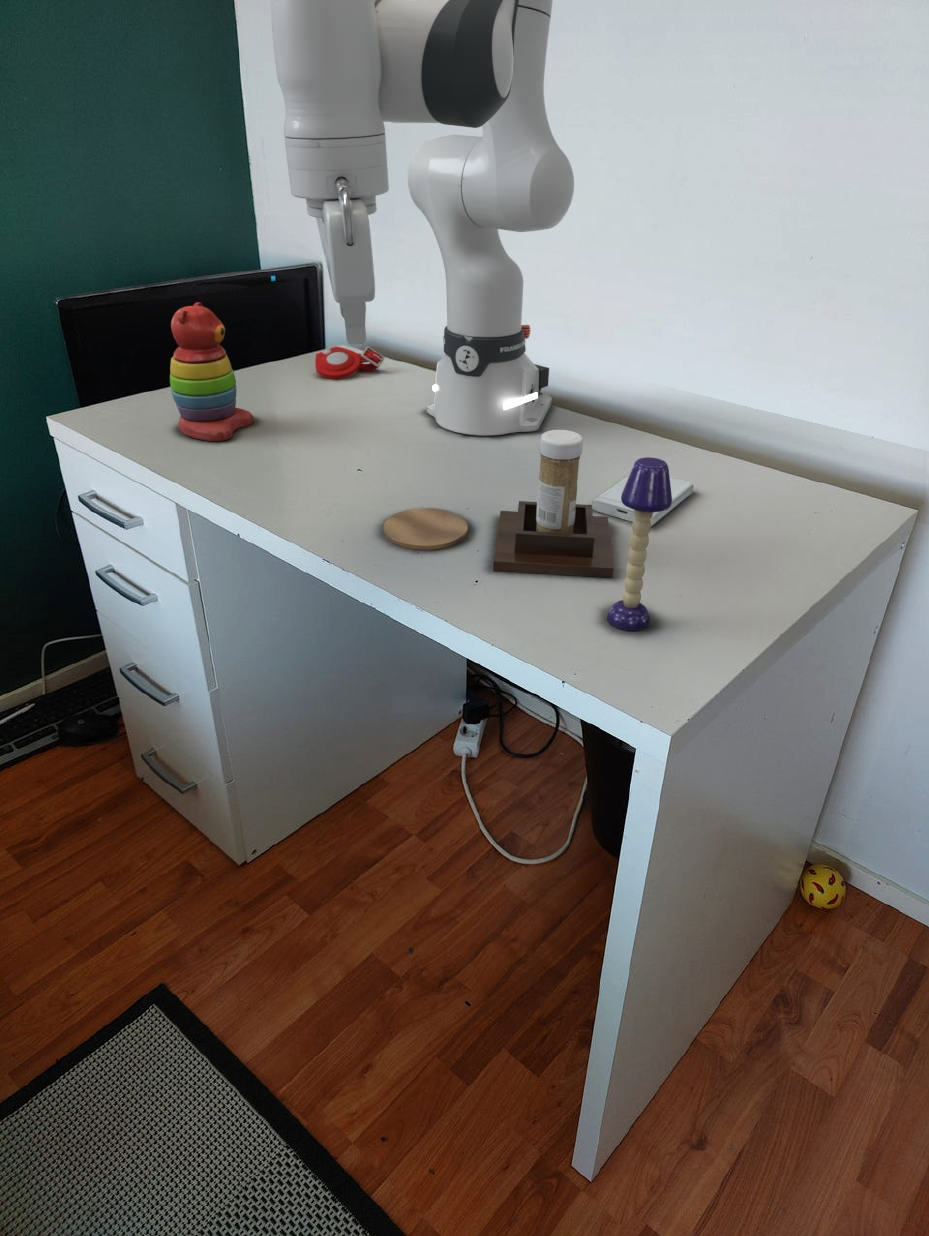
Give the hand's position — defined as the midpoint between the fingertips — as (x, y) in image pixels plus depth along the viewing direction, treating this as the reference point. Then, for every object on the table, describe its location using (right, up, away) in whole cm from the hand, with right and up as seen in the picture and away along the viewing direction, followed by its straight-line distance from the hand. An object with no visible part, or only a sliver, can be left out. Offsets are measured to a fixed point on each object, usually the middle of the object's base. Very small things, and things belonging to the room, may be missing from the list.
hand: (353, 329), depth 85 cm
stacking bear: (-27, 0, +46) cm, 54 cm away
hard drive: (+34, -14, +26) cm, 45 cm away
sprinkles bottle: (+21, -20, +15) cm, 33 cm away
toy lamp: (+28, -29, +2) cm, 40 cm away
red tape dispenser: (-10, +16, +71) cm, 74 cm away
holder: (+21, -20, +15) cm, 33 cm away
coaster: (+6, -18, +18) cm, 26 cm away
